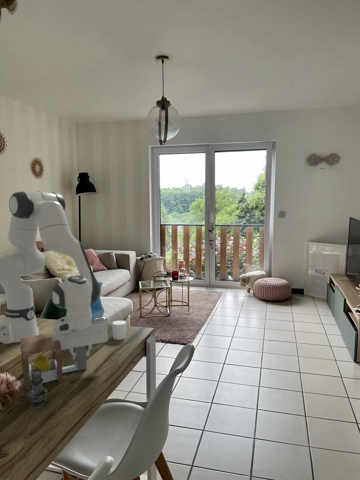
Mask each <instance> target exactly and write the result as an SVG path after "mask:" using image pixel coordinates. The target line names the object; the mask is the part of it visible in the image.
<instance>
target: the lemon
mask: <svg viewBox="0 0 360 480" xmlns="http://www.w3.org/2000/svg"><path fill="white" fill-rule="evenodd" d="M49 360H50V359H49V358H47V357H46V356H43V355H40V356H38V357H36V358H35V359H34V362H33V363H34V364H33V363H32V364H33V370H34V369H35V367H37V369H40V370H41V372H46V371H50V363H49Z"/></svg>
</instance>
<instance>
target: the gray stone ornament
mask: <svg viewBox="0 0 360 480" xmlns="http://www.w3.org/2000/svg"><path fill="white" fill-rule="evenodd" d="M31 376H32V380H30V384H31V383H32V385H31V389H30V390H29V391H28V392H27V393H26V395H27V397H28V400H29V401H30V402H29V404H28V406H29V408H30V409H40V408H43V407H44V406H46V405H47V403H48V399H46V398H47V394H48V392H49V390H48V388H46V387H44V386H43V383H42V381H43V379H42V373H41V370H40V369H37V367H35V369H34V370H33V371H32V372H31Z"/></svg>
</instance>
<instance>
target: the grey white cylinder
mask: <svg viewBox="0 0 360 480" xmlns="http://www.w3.org/2000/svg"><path fill="white" fill-rule="evenodd" d="M110 325H111V328H112V329H111V330H112V338H113V339H114V340H118V341H119V340H120V341H121V340H123V339H124V340H125V339H126V338H127V328H128V326H127V325H128V322H127V320H124V319H117V320H114V321H112V322H111V324H110Z"/></svg>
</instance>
